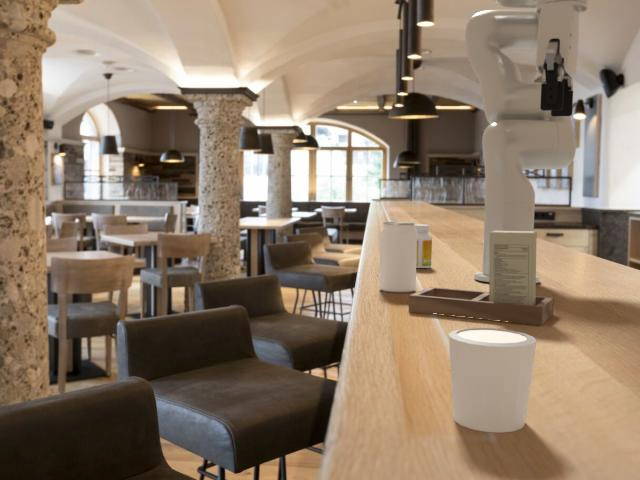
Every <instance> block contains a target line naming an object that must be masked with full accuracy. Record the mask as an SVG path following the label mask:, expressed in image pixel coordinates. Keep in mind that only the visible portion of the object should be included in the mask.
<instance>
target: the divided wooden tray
mask: <svg viewBox="0 0 640 480" xmlns="http://www.w3.org/2000/svg"><path fill="white" fill-rule="evenodd" d="M554 300H555V298H554V296H553V297H549V296H540V295H536V297H535V306H531V305H520V304H509V303H498V302H489V291H482V290H469V289H459V288H446V287H435V286H429V287H426V288H424V289H422V290H419V291H417V292H415V293H414V292H413V293H412V294H409V295H408V313H414V314H423V315H424V314H426V315H432V314H433V313H437V314H444V315H455V316H465V317H473V318H482V319H490V320H500V321H508V322H516V323H515V324H518V323H525V324H524V325H527V324H534V325H533V326H537V325H542V324H543V325H544V324H545V323H546V322H547V321H548V320H549V319H550V318H551V317H552V316H553V315H554V302H555V301H554ZM508 322H507V323H508ZM543 325H542V326H543Z"/></svg>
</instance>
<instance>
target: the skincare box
mask: <svg viewBox="0 0 640 480" xmlns="http://www.w3.org/2000/svg"><path fill="white" fill-rule="evenodd" d="M536 275H537V231H536V230H535V231H492V232H490V281H489V282H488V284H489V290H488V292H489V302H498V303H509V304H520V305H531V306H535V297H536V296H537V295H536V292H537V291H536V290H537V288H536V286H537V285H536V284H537V283H536Z"/></svg>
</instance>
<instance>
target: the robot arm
mask: <svg viewBox="0 0 640 480" xmlns="http://www.w3.org/2000/svg"><path fill="white" fill-rule="evenodd" d="M588 1H589V0H493V2H495V3H496V4H498V5H499V6H501V7H505V8H514V9H488V10H481V11H479V12H477V13H475V14H474V15H472V16H471V17H470V18H469V19H468V20H467V22H466V27H465V34H464V41H465V49H466V51H465V52H466V55H467V57H468V61H469V63H470V65H471V68H472V70H473V72H474V73H475V76H476V77H477V79H478V82H479V85H480V93H481V99H482V106H483V110H484V116H485V118H486V121H487V123H488V124H489V125H488V126H487V127H486V128H485V129H484V131H483V134H482V138H481V139H482V140H481V141H482V142H481V145H482V147H481V148H482V154H483V163H484V179H485V181H484V184H485V185H484V187H485V188H484V212H483V214H484V216H483V217H484V219H483V220H484V221H483V243H482V246H483V247H482V266H481V267H482V271H477V272H475V273H474V274H473V275H474V276H473V278H474V279H475V280H477V281H479V282H485V283H489V281H490V232H492V231H534V227H535V205H536V195H535V194H536V193H535V190H534V189H535V188H534V186H533V184H532V183H531V181H530V180H529V179H528V177H527V176H526V175H525V173H524V170H562V169H565V168H566V167H568V166H570V165H571V164H572V163H573V161H574V159H575V155H576V152H577V151H576V150H577V143H576V142H577V140H576V136H575V129H574V125H573V123H572V118H571V116H573V103H574V101H573V100H574V90H573V77H575V75H576V74H577V68H578V55H579V54H578V52H579V51H578V50H579V37H580V36H579V33H580V31H579V30H580V14H583V13H584V12H586V11H587V10H588ZM515 8H520V9H515ZM521 8H522V9H521ZM523 8H524V9H523ZM525 8H527V9H525ZM503 52H536V54H535V55H536V56H535V70H536V72H537V73H538V74H539V75H541V77H542V78H541V82H527V81H523V80H522V74H521V71H520V69H519V67H518V65H517V64H516V63H515V62H514V60H513V59H511V58H510V57H509V56H508V55H506V54H505V53H503ZM540 281H541V279H540V275H537V274H536V284H538V283H540Z"/></svg>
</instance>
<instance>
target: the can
mask: <svg viewBox="0 0 640 480" xmlns="http://www.w3.org/2000/svg"><path fill="white" fill-rule="evenodd" d="M415 224H416V223H415V222H404V221H403V222H402V221H388V222H387V221H384V222H383V225H382V228H381V229H380V238H379V239H380V241H379V268H378V269H379V273H378V275H379V277H378V280H379V281H378V285H379V286H378V287H379V289H380V291H381V292H385V293H391V294H409V293H414V291H415V290H416V286H417V285H416V283H417V269H416V260H417V231H416V228H415Z"/></svg>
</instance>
